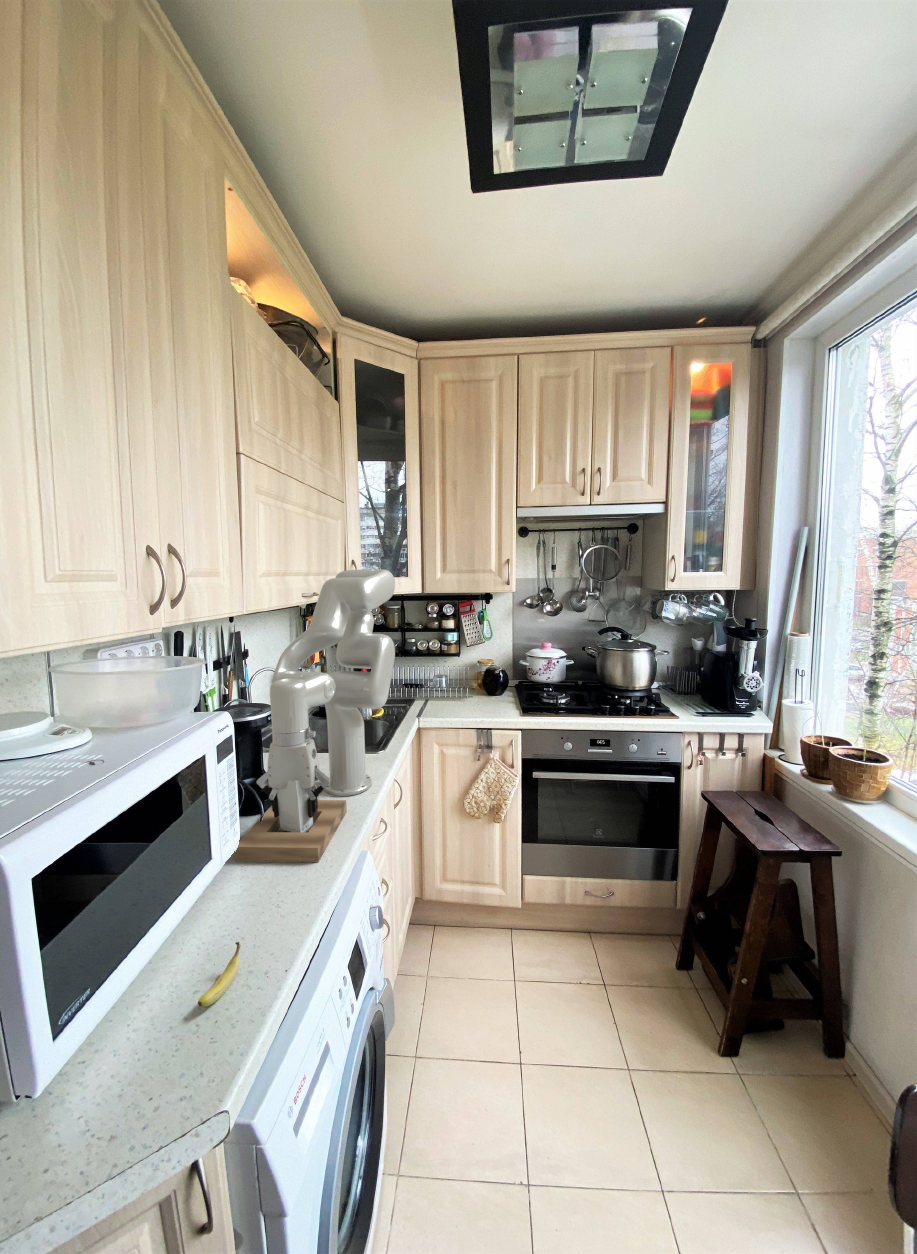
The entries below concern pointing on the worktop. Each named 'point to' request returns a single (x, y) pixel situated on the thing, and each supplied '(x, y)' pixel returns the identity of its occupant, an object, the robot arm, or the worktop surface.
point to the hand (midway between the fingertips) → (295, 813)
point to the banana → (222, 981)
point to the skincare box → (294, 808)
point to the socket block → (292, 836)
